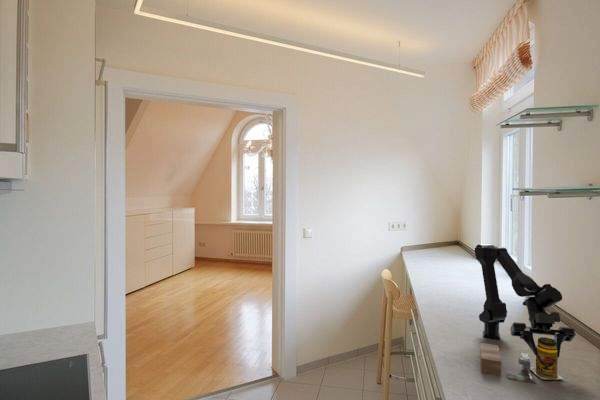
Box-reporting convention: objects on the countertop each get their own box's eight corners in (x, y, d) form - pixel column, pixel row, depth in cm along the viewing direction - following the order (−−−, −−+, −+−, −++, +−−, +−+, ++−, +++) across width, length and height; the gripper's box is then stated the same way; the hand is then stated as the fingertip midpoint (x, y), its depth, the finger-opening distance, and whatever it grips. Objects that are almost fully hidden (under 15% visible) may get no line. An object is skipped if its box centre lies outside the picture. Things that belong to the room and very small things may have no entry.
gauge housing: (480, 355, 142) (480, 342, 141) (529, 363, 135) (529, 350, 135) (481, 373, 128) (481, 359, 128) (535, 383, 121) (536, 368, 121)
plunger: (517, 364, 133) (517, 352, 133) (527, 365, 132) (527, 353, 132) (521, 378, 123) (521, 365, 123) (532, 380, 122) (532, 367, 122)
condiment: (542, 379, 123) (543, 344, 123) (526, 367, 132) (527, 333, 131) (564, 379, 123) (565, 344, 122) (547, 367, 131) (548, 333, 131)
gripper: (513, 300, 133) (521, 343, 123) (574, 304, 127) (588, 350, 117) (507, 314, 140) (514, 356, 130) (564, 319, 135) (576, 363, 125)
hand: (547, 356), depth 126 cm, fingers closed on condiment, 6 cm apart
